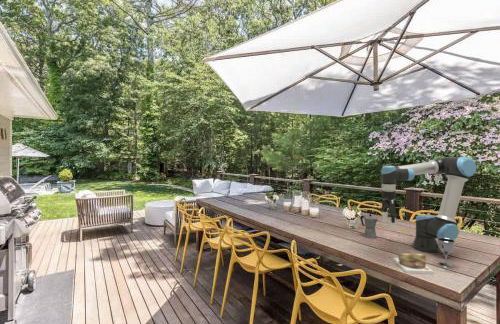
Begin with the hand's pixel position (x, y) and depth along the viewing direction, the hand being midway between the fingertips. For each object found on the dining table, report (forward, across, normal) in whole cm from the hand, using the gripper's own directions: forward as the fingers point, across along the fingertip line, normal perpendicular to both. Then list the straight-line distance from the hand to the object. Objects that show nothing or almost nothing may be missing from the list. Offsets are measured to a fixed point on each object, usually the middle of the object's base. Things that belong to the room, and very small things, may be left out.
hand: (388, 224), depth 169 cm
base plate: (+22, +10, +10) cm, 26 cm away
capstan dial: (+20, +10, +10) cm, 24 cm away
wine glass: (+22, +5, +30) cm, 37 cm away
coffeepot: (+22, -47, 0) cm, 52 cm away
